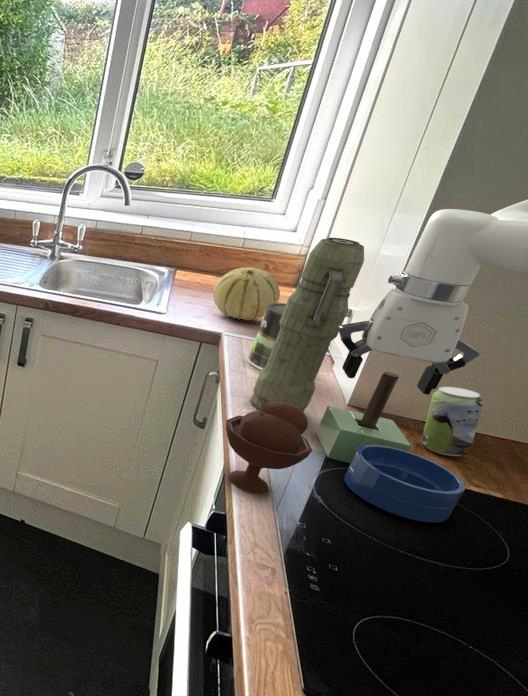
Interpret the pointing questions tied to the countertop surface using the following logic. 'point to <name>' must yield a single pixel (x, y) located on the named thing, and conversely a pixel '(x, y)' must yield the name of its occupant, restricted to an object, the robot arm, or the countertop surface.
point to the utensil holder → (355, 434)
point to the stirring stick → (378, 400)
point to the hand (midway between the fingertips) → (384, 382)
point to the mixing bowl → (404, 483)
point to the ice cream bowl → (267, 442)
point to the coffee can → (266, 335)
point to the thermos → (310, 323)
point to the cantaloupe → (246, 293)
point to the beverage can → (452, 421)
